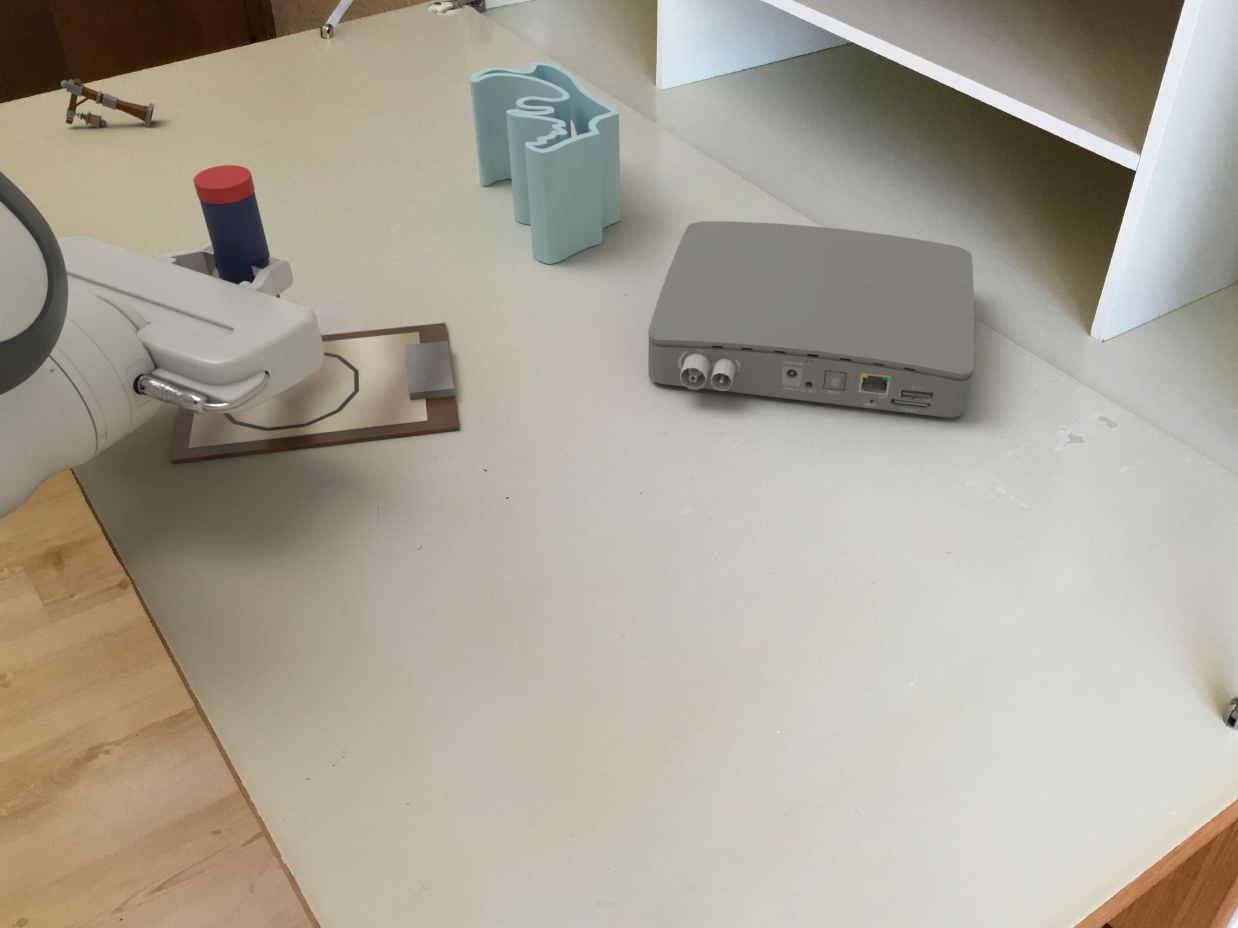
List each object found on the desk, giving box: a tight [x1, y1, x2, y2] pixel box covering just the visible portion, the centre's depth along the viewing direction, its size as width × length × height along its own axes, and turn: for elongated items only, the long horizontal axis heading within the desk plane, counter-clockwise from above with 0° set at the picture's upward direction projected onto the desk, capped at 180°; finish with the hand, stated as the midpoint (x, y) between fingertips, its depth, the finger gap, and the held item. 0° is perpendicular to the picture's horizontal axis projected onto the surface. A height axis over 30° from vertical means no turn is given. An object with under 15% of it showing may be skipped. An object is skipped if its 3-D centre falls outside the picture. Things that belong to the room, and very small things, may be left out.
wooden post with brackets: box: [60, 78, 155, 129], centre depth 110 cm, size 2×8×4 cm, turn 99°
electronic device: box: [647, 220, 975, 419], centre depth 82 cm, size 19×22×5 cm
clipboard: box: [170, 322, 461, 464], centre depth 78 cm, size 18×13×1 cm
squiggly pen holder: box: [469, 61, 622, 265], centre depth 96 cm, size 18×10×9 cm, turn 31°
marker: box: [193, 164, 281, 298], centre depth 73 cm, size 3×3×13 cm
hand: (255, 260), depth 73 cm, fingers closed on marker, 3 cm apart
